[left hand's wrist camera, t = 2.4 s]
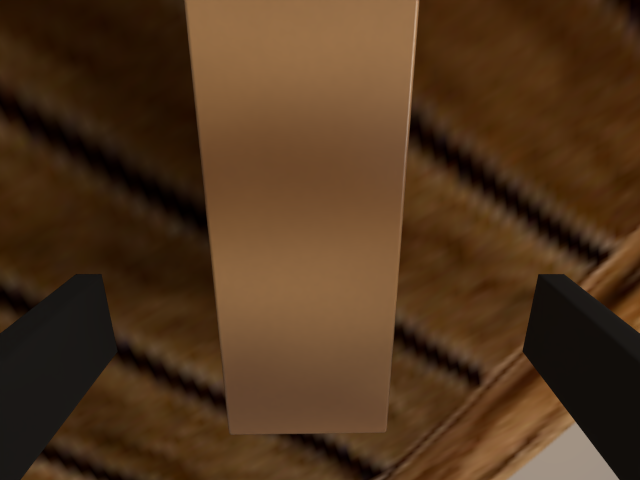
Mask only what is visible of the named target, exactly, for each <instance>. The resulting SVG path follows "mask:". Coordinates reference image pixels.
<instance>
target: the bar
mask: <svg viewBox="0 0 640 480" xmlns="http://www.w3.org/2000/svg"><path fill="white" fill-rule="evenodd" d="M184 5H185V14H186V24H187V33H188V43H189V52H190V62H191V72H192V81H193V91H194V100H195V110H196V120H197V129H198V139H199V148H200V158H201V168H202V177H203V187H204V196H205V206H206V216H207V225H208V235H209V244H210V254H211V264H212V273H213V283H214V292H215V302H216V311H217V321H218V331H219V340H220V350H221V359H222V369H223V379H224V388H225V398H226V407H227V417H228V427H229V433H230V434H232V435H236V434H310V433H384V432H386V429H387V418H388V405H389V391H390V378H391V365H392V352H393V339H394V326H395V313H396V300H397V287H398V274H399V260H400V247H401V234H402V221H403V208H404V195H405V182H406V169H407V156H408V142H409V129H410V116H411V103H412V90H413V77H414V64H415V51H416V38H417V25H418V11H419V0H184Z"/></svg>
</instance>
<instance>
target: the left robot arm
mask: <svg viewBox="0 0 640 480" xmlns="http://www.w3.org/2000/svg"><path fill="white" fill-rule="evenodd" d="M116 353H117V347H116V342H115V337H114V332H113V327H112V323H111V318H110V313H109V308H108V303H107V299H106V294H105V289H104V284H103V279H102V274H76V275H74V276H73V277H72V278H71V279H69V280H68V281H67V282H65V283H64V284H63V285H62V286H60V287H59V288H58V289H57V290H55V291H54V292H53V293H51V294H50V295H49V296H48V297H46V298H45V299H44V300H42V301H41V302H40V303H39V304H37V305H36V306H35V307H34V308H32V309H31V310H30V311H28V312H27V313H26V314H25V315H23V316H22V317H21V318H19V319H18V320H17V321H16V322H14V323H13V324H12V325H11V326H9V327H8V328H7V329H5V330H4V331H3V332H2V333H0V480H21V478H22V477H23V476H24V474H25V473H26V472H27V470H28V469H29V468H30V466H31V465H32V464H33V462H34V461H35V460H36V458H37V457H38V456H39V454H40V453H41V452H42V451H43V449H44V448H45V447H46V445H47V444H48V443H49V441H50V440H51V439H52V437H53V436H54V435H55V433H56V432H57V431H58V429H59V428H60V427H61V425H62V424H63V423H64V421H65V420H66V419H67V417H68V416H69V415H70V413H71V412H72V411H73V410H74V408H75V407H76V406H77V404H78V403H79V402H80V400H81V399H82V398H83V396H84V395H85V394H86V392H87V391H88V390H89V388H90V387H91V386H92V384H93V383H94V382H95V380H96V379H97V378H98V376H99V375H100V374H101V372H102V371H103V370H104V368H105V367H106V366H107V365H108V363H109V362H110V361H111V359H112V358H113V357H114V355H115V354H116ZM523 353H524V354H525V355H526V357H527V358H528V359H529V361H530V362H531V363H532V365H533V366H534V367H535V368H536V370H537V371H538V372H539V374H540V375H541V376H542V378H543V379H544V380H545V382H546V383H547V384H548V386H549V387H550V388H551V390H552V391H553V392H554V394H555V395H556V396H557V398H558V399H559V400H560V402H561V403H562V404H563V406H564V407H565V408H566V410H567V411H568V412H569V413H570V415H571V416H572V417H573V419H574V420H575V421H576V423H577V424H578V425H579V427H580V428H581V429H582V431H583V432H584V433H585V435H586V436H587V437H588V439H589V440H590V441H591V443H592V444H593V445H594V447H595V448H596V449H597V451H598V452H599V453H600V454H601V456H602V457H603V458H604V460H605V461H606V462H607V464H608V465H609V466H610V468H611V469H612V470H613V472H614V473H615V474H616V476H617V477H618V478H619V480H640V333H638V332H637V331H636V330H635V329H633V328H632V327H631V326H629V325H628V324H627V323H626V322H624V321H623V320H622V319H621V318H619V317H618V316H617V315H615V314H614V313H613V312H612V311H610V310H609V309H608V308H606V307H605V306H604V305H603V304H601V303H600V302H599V301H598V300H596V299H595V298H594V297H592V296H591V295H590V294H589V293H587V292H586V291H585V290H583V289H582V288H581V287H580V286H578V285H577V284H576V283H575V282H573V281H572V280H571V279H569V278H568V277H567V276H566V275H564V274H538V279H537V284H536V289H535V294H534V299H533V303H532V308H531V313H530V318H529V323H528V327H527V332H526V337H525V342H524V347H523Z"/></svg>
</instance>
